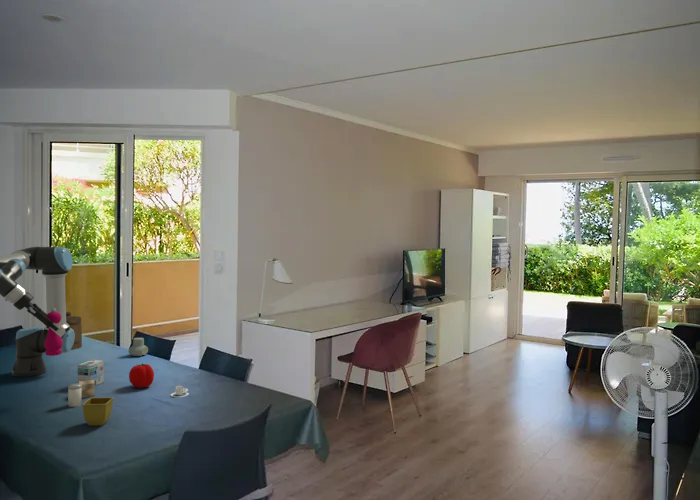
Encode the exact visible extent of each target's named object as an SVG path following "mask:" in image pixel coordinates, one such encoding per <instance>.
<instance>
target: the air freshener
mask: <svg viewBox="0 0 700 500" xmlns="http://www.w3.org/2000/svg"><path fill="white" fill-rule="evenodd" d="M148 352H149V347H148V346H147V345H145V339H144V337H134V338H133V339H132V346H130V347H129V349H128V354H129V355H131V356H133V357H143V356H142V355H144V356H145V355H146V354H147V353H148Z"/></svg>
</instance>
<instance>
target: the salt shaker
mask: <svg viewBox="0 0 700 500" xmlns="http://www.w3.org/2000/svg"><path fill="white" fill-rule="evenodd" d="M81 387H82V384H79V383H78V382H77V383H76V382H75V383H70V384H68V385H67V389H68V390H67V396H68V398H67V399H68V400H67V402H68V407H69V408H70V407H71V408H76V407H80V406H81V405H82V398H81Z"/></svg>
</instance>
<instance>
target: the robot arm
mask: <svg viewBox="0 0 700 500" xmlns="http://www.w3.org/2000/svg"><path fill="white" fill-rule="evenodd" d="M73 263H74V262H73V256H72V253H71V251H70V250H69V249H68V248H66V247H61V246H30V247H27V248H21V249H18V250H15V251H12V252H11V253H10V254H7V255H3V256H0V296H2V297H3V298H4V301H5V302H7V301H8V302H9V303H10V304H12V305H13V306H14V307H15V308H16V309H17V310H20V311H21V310H23V309H24V308H25V309H26V311H27V312H28V313H29V314H30V315H32V316H33V317H35V318H36V319H37V320H39V321H40V322H41V323H42V324H44V328H43V326H40V325H39V326H30V327H25V328H20V329H18V330H17V331H16V335H15V362H14V363H13V364H14V365H13V367H12V370H11V375H12V376H13V377H22V378H23V377H27V378H28V377H34V376H39V375H43V374H45V373H46V372H47V365H46V362H45V360H44V357H43V354H45V353H46V350H47V349H46V348H45V347H44V343H45V340H46V337H47V335H48V328H50V329H51V330H53V331H54V332H55V333H56V334H58V335H59V336H60V337H61V338H62V340H63V346H62V347H61V348H60V349H62V354H63V353H64V354H65V353H68V352H69V351H71V350H72V349H71V348H72V346H73V343H74V339H75V333H74V331H73V330H70V325H69V324H67V323H66V312H67V304H66V303H67V301H66V276H67V275H68V274H69V271H71V269H72V268H73ZM26 270H33V271H34V270H35V271H41V275H42V276H43V277H45V298H46V299H45V300H46V312H45V311H44V310H42V308H40V307H39V306H38V305H37V304H36V302H34V303H33V302H32V301H33V300H34V298H35V297H34V296H33V295H32V294H31V293H30V292H29V291H28V292H27V290H26V289H25V288H24V287H22V285H20V284H19V283H17V282H16V281H17V280H18V279H19V278H20V277H21V276H22V275H23V273H24V272H25V271H26ZM53 308H55V309H56V312H58V313H60V314H61V317H62V318H61V321H60V322H59V323H60V326H58V325H56V324H55V323H53V322H52V321H51V320H50V319H49V318H47V317H46V316H47V314H48V313H50V312H52V311H51V310H52V309H53Z"/></svg>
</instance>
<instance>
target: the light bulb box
mask: <svg viewBox="0 0 700 500" xmlns="http://www.w3.org/2000/svg"><path fill="white" fill-rule="evenodd" d="M104 365H105V363H104V360H100V359H99V360H98V359H90V360H88V361H85V362H81V363H79V364H77V383H79V381H88V380H94V383H95V387H96V386H99V385H101V384H102V383H103V384H104V373H105V371H104Z"/></svg>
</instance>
